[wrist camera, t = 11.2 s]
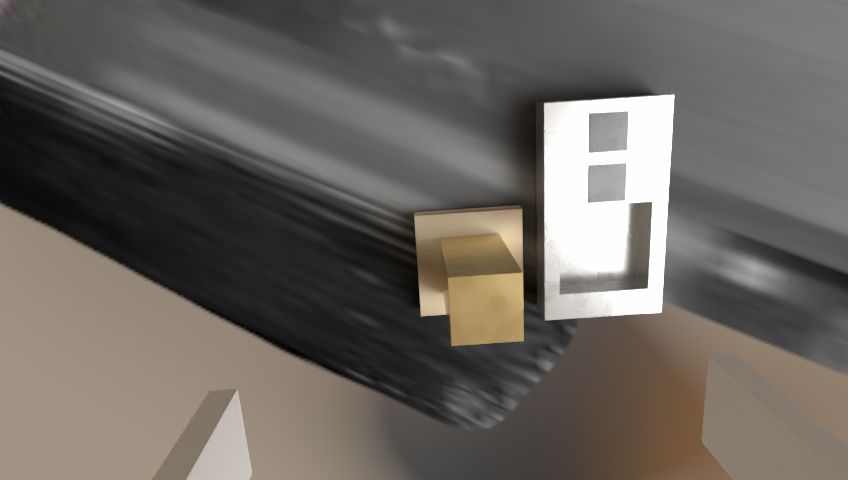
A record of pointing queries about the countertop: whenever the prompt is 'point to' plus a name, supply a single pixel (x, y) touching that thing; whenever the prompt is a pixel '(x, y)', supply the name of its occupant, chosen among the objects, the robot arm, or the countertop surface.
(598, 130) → the white recessed slab
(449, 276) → the block
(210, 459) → the robot arm
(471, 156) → the countertop surface
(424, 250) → the coaster
